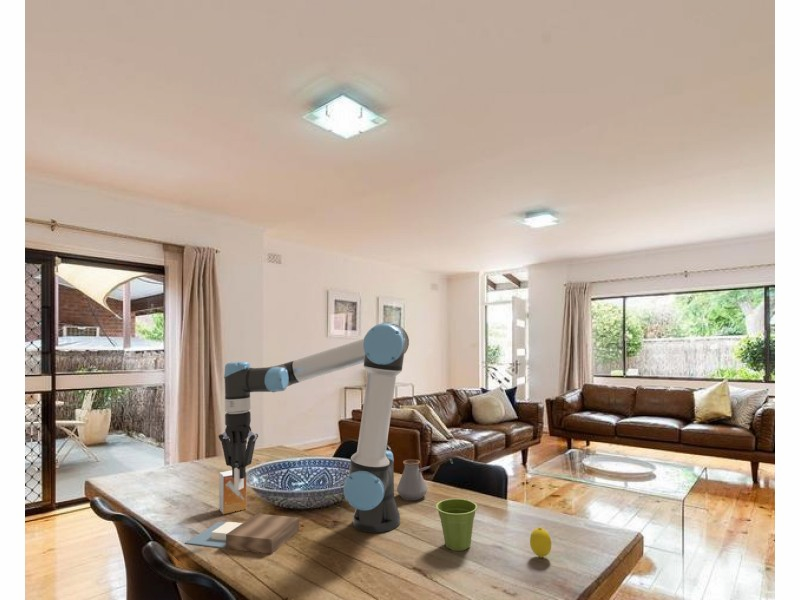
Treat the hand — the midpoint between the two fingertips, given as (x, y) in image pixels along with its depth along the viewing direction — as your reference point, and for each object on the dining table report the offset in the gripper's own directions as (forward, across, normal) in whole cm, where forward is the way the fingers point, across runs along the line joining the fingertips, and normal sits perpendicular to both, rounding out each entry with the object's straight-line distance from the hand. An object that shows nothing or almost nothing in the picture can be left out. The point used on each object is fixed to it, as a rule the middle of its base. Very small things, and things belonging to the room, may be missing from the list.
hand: (239, 488), depth 147 cm
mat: (+14, -7, 0) cm, 16 cm away
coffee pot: (+16, +48, +45) cm, 67 cm away
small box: (+14, -16, +19) cm, 29 cm away
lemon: (+16, +89, +7) cm, 91 cm away
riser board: (+15, +8, 0) cm, 17 cm away
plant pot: (+16, +66, +9) cm, 68 cm away
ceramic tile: (+14, -3, 0) cm, 14 cm away
